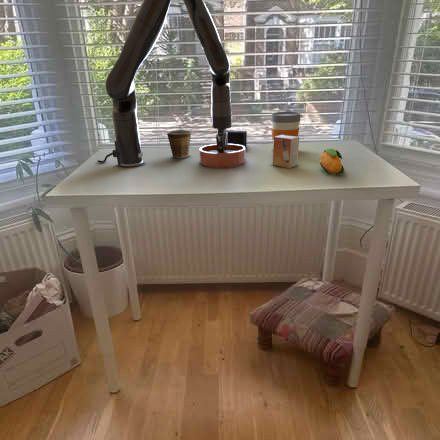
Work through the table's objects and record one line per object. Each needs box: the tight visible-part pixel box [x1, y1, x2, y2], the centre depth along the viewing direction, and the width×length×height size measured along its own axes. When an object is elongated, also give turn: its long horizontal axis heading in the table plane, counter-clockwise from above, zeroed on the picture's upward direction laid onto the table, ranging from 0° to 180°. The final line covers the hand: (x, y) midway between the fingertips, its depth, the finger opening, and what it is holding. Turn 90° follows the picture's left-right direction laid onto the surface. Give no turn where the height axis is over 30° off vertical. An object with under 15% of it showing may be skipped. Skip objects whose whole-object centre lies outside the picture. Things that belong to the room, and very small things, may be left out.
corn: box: [319, 148, 345, 176], centre depth 141 cm, size 7×8×20 cm
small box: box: [272, 135, 300, 169], centre depth 151 cm, size 8×6×10 cm
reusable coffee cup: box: [270, 111, 302, 144], centre depth 173 cm, size 13×13×15 cm
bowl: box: [199, 143, 246, 169], centre depth 160 cm, size 18×18×6 cm
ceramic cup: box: [166, 129, 192, 159], centre depth 171 cm, size 13×10×10 cm
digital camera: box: [226, 129, 248, 148], centre depth 185 cm, size 10×5×7 cm, turn 66°
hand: (222, 160), depth 161 cm, fingers open, 4 cm apart
